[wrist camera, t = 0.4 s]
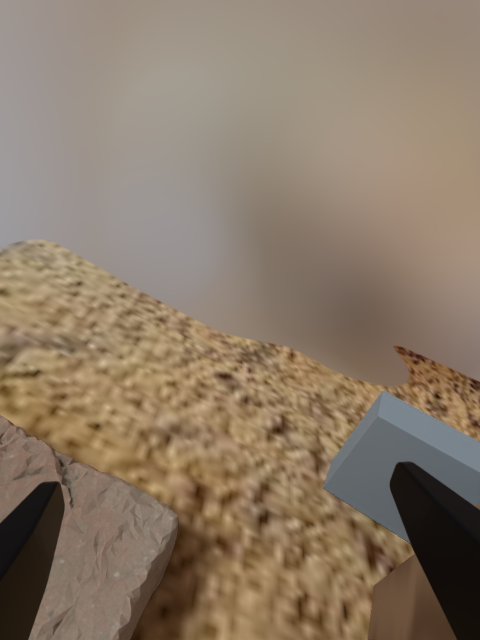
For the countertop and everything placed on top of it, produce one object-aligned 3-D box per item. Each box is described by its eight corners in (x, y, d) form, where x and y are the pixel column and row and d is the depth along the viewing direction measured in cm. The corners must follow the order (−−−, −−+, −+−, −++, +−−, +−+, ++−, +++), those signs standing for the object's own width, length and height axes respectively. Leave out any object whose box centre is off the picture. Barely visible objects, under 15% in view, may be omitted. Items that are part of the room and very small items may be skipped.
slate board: (534, 621, 24) (654, 569, 19) (323, 488, 28) (377, 416, 23) (525, 578, 26) (630, 522, 22) (331, 461, 30) (382, 390, 25)
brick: (177, 542, 22) (190, 504, 20) (90, 734, 15) (93, 714, 13) (-36, 432, 24) (-49, 385, 22) (-199, 556, 17) (-247, 508, 15)
